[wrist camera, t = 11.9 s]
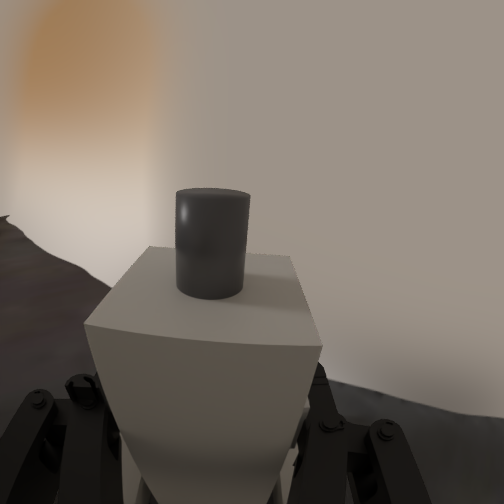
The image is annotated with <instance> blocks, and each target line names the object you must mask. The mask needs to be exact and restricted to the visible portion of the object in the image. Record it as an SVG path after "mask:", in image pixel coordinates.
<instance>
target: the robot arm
mask: <svg viewBox="0 0 504 504" xmlns="http://www.w3.org/2000/svg"><path fill="white" fill-rule="evenodd" d="M65 387H66V390H67V392H68V394H69V396H70V398H71V399H54V398H53V396H52V395H51V393H50V392H48V391H47V390H43V389H37V390H34V391H32V392H30V393H29V394H28V395H27V396H26V397H25V399H24V401H23V402H22V404H21V405H20V407H19V409H18V410H17V412H16V413H15V415H14V417H13V418H12V420H11V422H10V423H9V425H8V427H7V429H6V430H5V432H4V434H3V436H2V437H1V439H0V504H53V503H54V500H55V497H56V494H57V491H58V489H59V495H58V504H124V502H123V485H122V440H121V436H120V430H119V428H118V425H117V423H116V421H115V418H114V416H113V413H112V411H111V408H110V406H109V403H108V401H107V398H106V395H105V393H104V390H103V387H102V384H101V381H100V378H99V375H98V372H96V374H95V376H94V377H93V376H91V375H88V374H78V375H75V376H73V377H71V378H70V379H69V380H67V382H66V384H65ZM296 444H297V445H298V451H299V452H298V454H297V457H296V459H295V461H294V463H293V466H294V471H293V476H292V481H291V486H290V491H289V495H288V500H287V504H344V503H345V491H346V476H347V475H348V480H349V484H350V488H351V492H352V497H353V501H354V504H432V503H431V501H430V498H429V495H428V492H427V490H426V487H425V485H424V482H423V479H422V477H421V474H420V472H419V469H418V467H417V464H416V462H415V459H414V457H413V454H412V452H411V450H410V447H409V445H408V442H407V440H406V438H405V435H404V433H403V431H402V429H401V427H400V426H399V425H398V424H397V423H395V422H394V421H391V420H388V419H381V420H378V421H375V422H374V423H373V424H372V425H371V426H363V425H356V424H352V423H349V422H347V421H346V420H345V418H344V417H343V416H342V415H340V414H338V411H337V409H336V405H335V402H334V399H333V396H332V392H331V389H330V386H329V383H328V380H327V378H326V373H325V370H324V367H323V366H322V365H321V364H320V363H319V362H318V364H317V367H316V371H315V374H314V377H313V381H312V384H311V387H310V390H309V393H308V397H307V400H306V403H305V406H304V409H303V412H302V415H301V418H300V421H299V423H298V426H297V429H296V432H295V435H294V437H293V440H292V443H291V446H290V448H289V449H295V446H296Z"/></svg>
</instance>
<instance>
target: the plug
mask: <svg viewBox="0 0 504 504" xmlns="http://www.w3.org/2000/svg"><path fill="white" fill-rule="evenodd" d="M249 205H250V195H249V194H247V193H245V192H241V191H236V190H229V189H219V188H192V189H184V190H180V191H177V192H176V223H175V227H176V229H175V242H176V243H175V246H176V247H175V248H166V247H152V246H149V247H148V248H147V249H146V250H145V252H144V253H143V254H142V255H141V256H140V257H139V258H138V259H137V261H136V262H135V263H134V264H133V265H132V266H131V267H130V268H129V269H128V271H127V272H126V273H125V274H124V275H123V276H122V278H121V279H120V280H119V281H118V282H117V283H116V285H115V286H114V287H113V288H112V289H111V290H110V292H109V293H108V294H107V295H106V296H105V298H104V299H103V300H102V301H101V303H100V304H99V305H98V306H97V307H96V309H95V310H94V311H93V312H92V314H91V315H90V316H89V317H88V319H87V320H86V321H85V323H84V327H85V331H86V335H87V339H88V343H89V346H90V350H91V353H92V357H93V360H94V363H95V366H96V369H97V372H98V375H99V378H100V381H101V384H102V387H103V390H104V393H105V395H106V398H107V401H108V403H109V406H110V408H111V411H112V413H113V416H114V418H115V421H116V423H117V425H118V428H119V430H120V432H121V434H122V437H123V439H124V441H125V443H126V445H127V447H128V449H129V452H130V454H131V456H132V458H133V460H134V462H135V463H136V465H137V467H138V469H139V471H140V473H141V475H142V477H143V478H144V480H145V482H146V484H147V485H148V487H149V489H150V491H151V492H152V494H153V496H154V497H155V499H156V501H157V502H158V504H267V502H268V499H269V497H270V495H271V493H272V490H273V488H274V486H275V483H276V481H277V478H278V476H279V474H280V471H281V469H282V466H283V464H284V461H285V459H286V456H287V453H288V451H289V448H290V446H291V443H292V440H293V437H294V435H295V432H296V429H297V426H298V423H299V421H300V418H301V415H302V412H303V409H304V406H305V403H306V400H307V397H308V393H309V390H310V387H311V384H312V381H313V377H314V374H315V371H316V367H317V364H318V360H319V357H320V353H321V350H322V343H321V340H320V337H319V334H318V331H317V329H316V326H315V323H314V320H313V318H312V315H311V312H310V309H309V307H308V304H307V301H306V299H305V296H304V293H303V291H302V288H301V285H300V282H299V280H298V277H297V275H296V272H295V269H294V267H293V264H292V261H291V259H290V256H280V255H266V254H251V253H246V244H247V230H248V219H249V207H250V206H249Z"/></svg>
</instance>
